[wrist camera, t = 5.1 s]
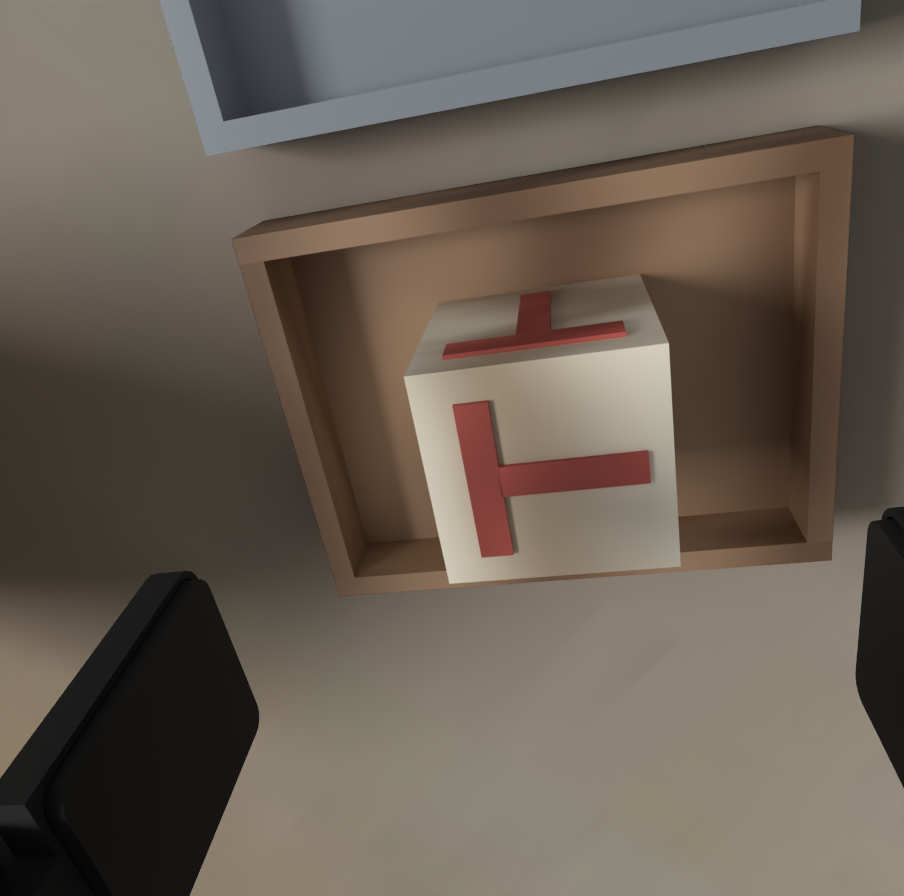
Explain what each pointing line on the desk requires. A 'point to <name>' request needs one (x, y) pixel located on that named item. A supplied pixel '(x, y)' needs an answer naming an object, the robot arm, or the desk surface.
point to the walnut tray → (566, 262)
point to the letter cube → (548, 432)
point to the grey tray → (445, 53)
